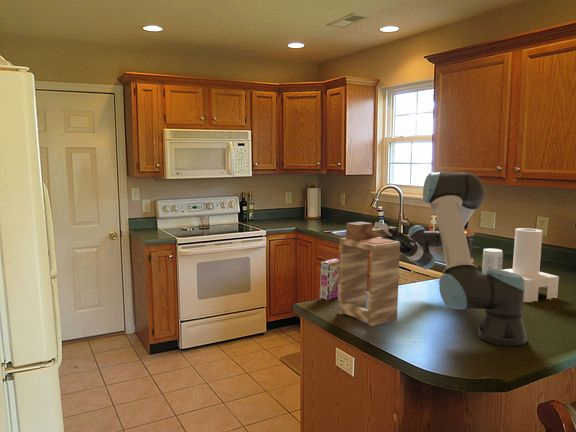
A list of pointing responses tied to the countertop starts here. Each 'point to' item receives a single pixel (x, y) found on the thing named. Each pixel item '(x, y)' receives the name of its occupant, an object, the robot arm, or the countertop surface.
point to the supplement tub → (492, 260)
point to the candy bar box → (329, 279)
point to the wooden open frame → (380, 280)
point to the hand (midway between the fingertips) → (379, 225)
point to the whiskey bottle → (469, 239)
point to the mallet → (363, 231)
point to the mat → (377, 241)
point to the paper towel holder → (531, 264)
